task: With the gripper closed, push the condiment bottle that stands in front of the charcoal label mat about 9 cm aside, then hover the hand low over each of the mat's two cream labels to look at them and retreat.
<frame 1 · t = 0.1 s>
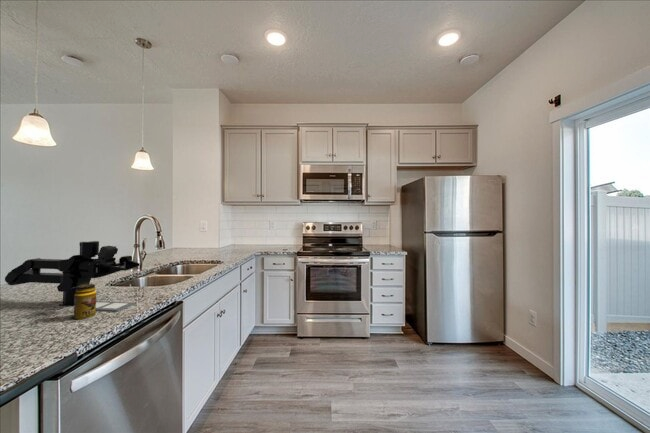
hand: (130, 266, 109), 17 cm above the counter, tool horizontal, fingers open, 9 cm apart
label mat: (105, 306, 107), on the counter
condiment: (81, 318, 96), on the counter
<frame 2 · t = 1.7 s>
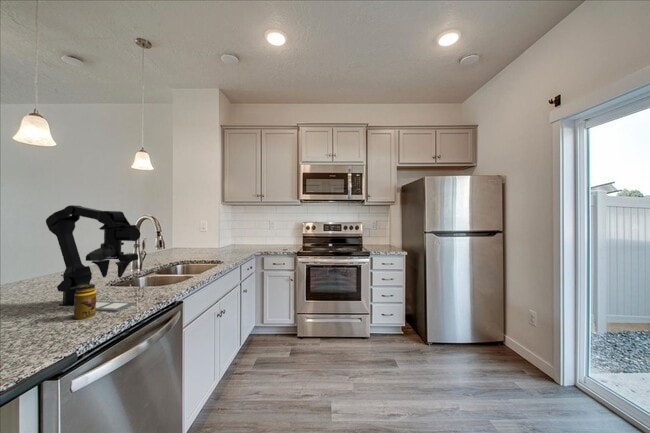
hand: (112, 277, 108), 12 cm above the counter, tool pointing down, fingers open, 6 cm apart
nothing on the counter moved.
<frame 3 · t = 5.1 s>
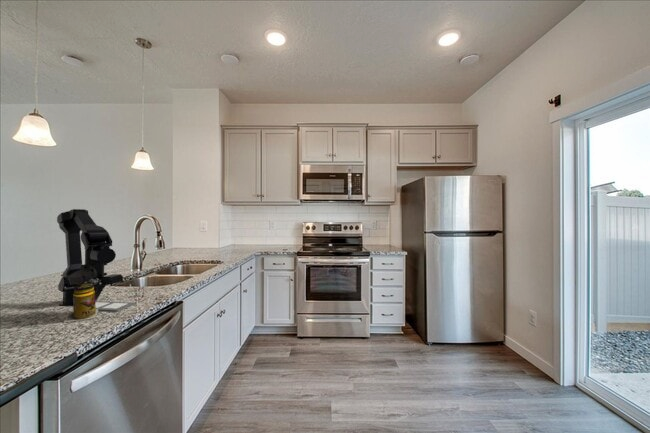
hand: (94, 300, 100), 5 cm above the counter, tool pointing down, fingers closed
condiment: (81, 316, 96), on the counter, touching gripper
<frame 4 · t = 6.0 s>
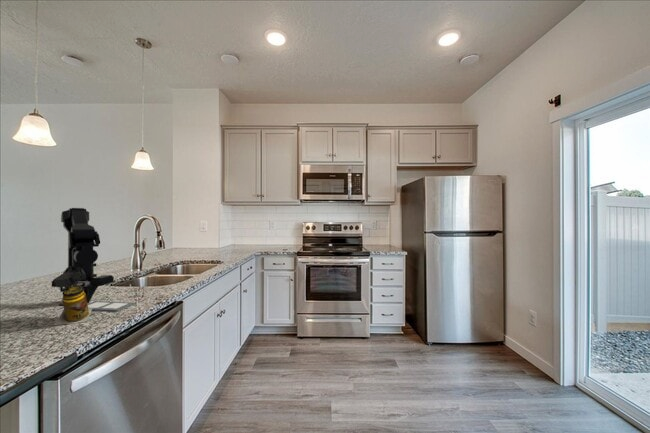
hand: (84, 303, 95), 5 cm above the counter, tool pointing down, fingers closed
condiment: (74, 316, 93), point 1 cm above the counter, touching gripper
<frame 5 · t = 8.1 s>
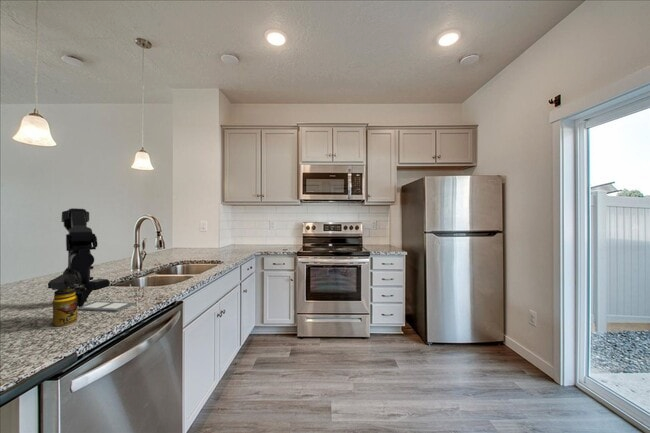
hand: (79, 306, 95), 4 cm above the counter, tool pointing down, fingers closed
condiment: (62, 324, 89), on the counter
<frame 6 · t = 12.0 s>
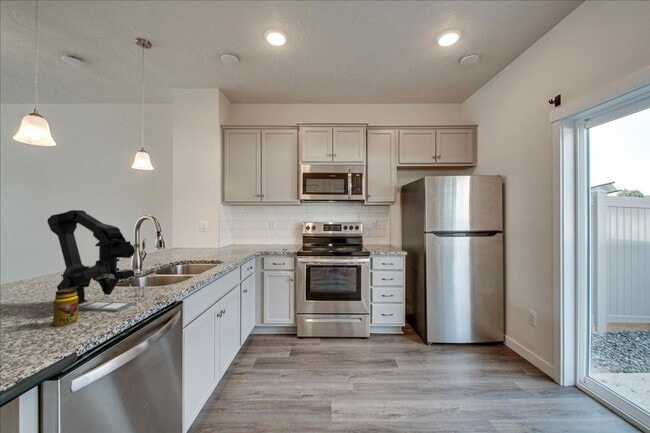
hand: (107, 294, 106), 5 cm above the counter, tool pointing down, fingers closed
nothing on the counter moved.
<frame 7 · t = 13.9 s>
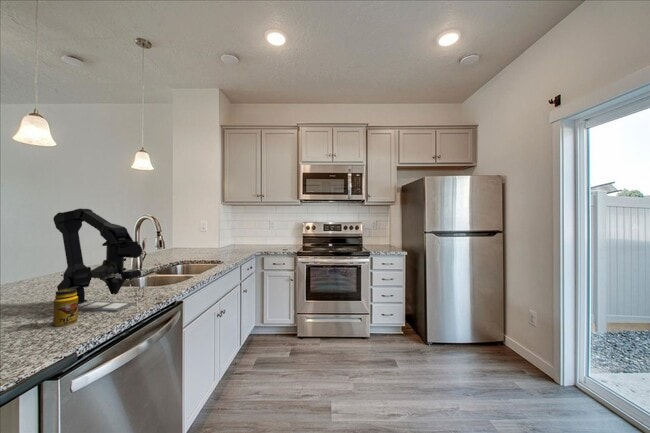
hand: (114, 294, 106), 5 cm above the counter, tool pointing down, fingers closed
nothing on the counter moved.
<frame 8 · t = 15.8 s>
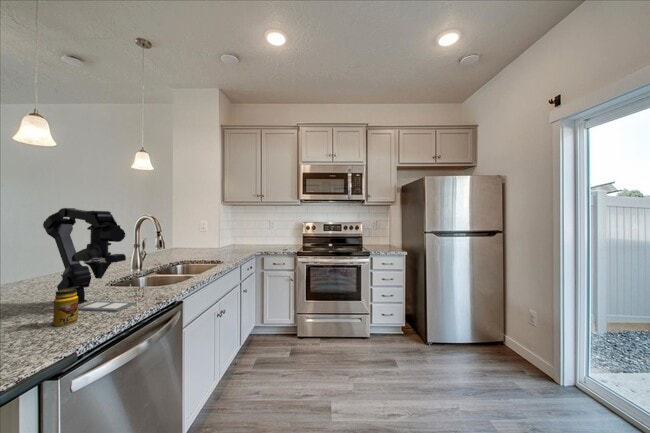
hand: (98, 278, 106), 12 cm above the counter, tool pointing down, fingers closed
nothing on the counter moved.
at the end: condiment inside the target area (3.1 cm from its centre), on the counter; condiment tilted 0°; condiment moved 6.1 cm from its start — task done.
